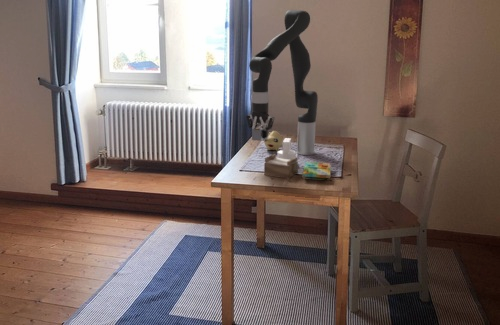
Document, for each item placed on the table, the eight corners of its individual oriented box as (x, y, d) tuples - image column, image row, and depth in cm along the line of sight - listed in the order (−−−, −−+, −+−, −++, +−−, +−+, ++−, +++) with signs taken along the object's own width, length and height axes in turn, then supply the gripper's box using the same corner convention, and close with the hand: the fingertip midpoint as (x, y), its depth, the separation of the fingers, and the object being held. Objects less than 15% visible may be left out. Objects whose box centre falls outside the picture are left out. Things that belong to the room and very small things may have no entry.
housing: (259, 136, 230) (259, 124, 228) (267, 137, 228) (268, 125, 226) (252, 139, 223) (252, 127, 221) (260, 140, 221) (260, 128, 219)
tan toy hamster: (261, 152, 259) (261, 132, 256) (267, 147, 270) (267, 128, 267) (278, 153, 256) (279, 134, 253) (284, 148, 267) (284, 129, 264)
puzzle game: (330, 161, 224) (330, 173, 205) (330, 171, 225) (329, 183, 206) (305, 160, 226) (302, 171, 207) (305, 169, 227) (302, 182, 208)
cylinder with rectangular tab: (294, 166, 231) (295, 142, 228) (275, 165, 233) (276, 141, 230) (296, 162, 240) (297, 138, 236) (278, 161, 241) (279, 137, 238)
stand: (273, 169, 226) (274, 153, 224) (297, 172, 221) (297, 157, 219) (264, 174, 218) (264, 158, 216) (288, 178, 212) (288, 162, 210)
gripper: (277, 101, 220) (277, 137, 225) (250, 99, 227) (250, 134, 232) (270, 103, 214) (270, 141, 219) (242, 101, 221) (242, 137, 225)
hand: (260, 137), depth 225 cm, fingers closed on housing, 4 cm apart
